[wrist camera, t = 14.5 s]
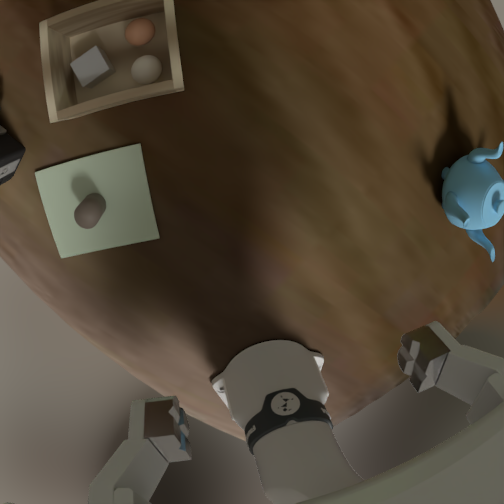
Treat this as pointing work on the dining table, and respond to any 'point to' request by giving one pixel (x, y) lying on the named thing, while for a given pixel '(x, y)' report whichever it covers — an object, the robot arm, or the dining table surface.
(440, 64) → the dining table surface
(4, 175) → the camera
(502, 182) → the teapot
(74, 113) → the birch box
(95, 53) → the grey block
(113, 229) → the lid
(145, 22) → the ball terracotta
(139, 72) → the ball cream
